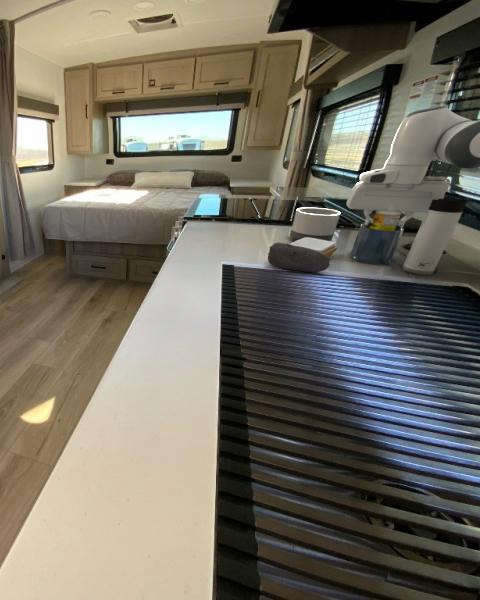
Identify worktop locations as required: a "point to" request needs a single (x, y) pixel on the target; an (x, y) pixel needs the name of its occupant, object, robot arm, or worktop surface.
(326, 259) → the perforated stone tool
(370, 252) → the blue cylindrical cup
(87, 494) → the worktop surface
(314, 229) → the planter
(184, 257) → the worktop surface
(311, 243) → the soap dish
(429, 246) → the travel mug
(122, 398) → the worktop surface
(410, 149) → the robot arm
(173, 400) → the worktop surface
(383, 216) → the supplement bottle
